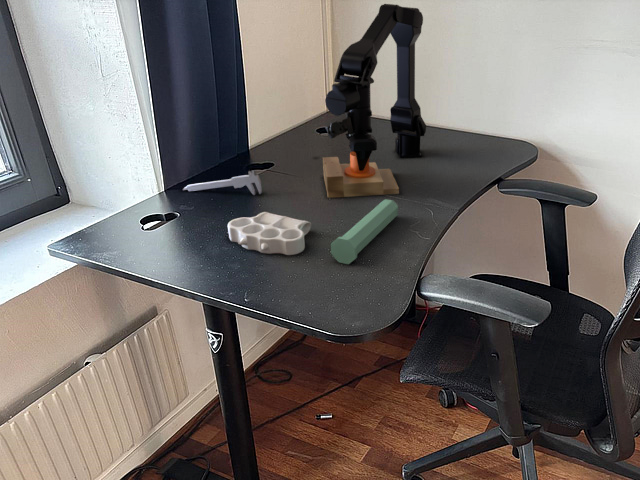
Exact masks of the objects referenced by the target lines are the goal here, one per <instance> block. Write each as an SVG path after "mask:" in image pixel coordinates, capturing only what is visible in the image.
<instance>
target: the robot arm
mask: <svg viewBox="0 0 640 480" xmlns="http://www.w3.org/2000/svg"><path fill="white" fill-rule="evenodd" d="M423 23H424V15H423V12H421V10H420V9H419V8H418V7H408V6H401V5H400V4H393V3H383V4H381V5H380V6H379V8H378V13H377V14H376V16H375V18H374V19H373V20H372V22H371V23H370V25H369V26H368V28H367V29H366V31H365V32H364V34H363V36H361V38H360V40H358V41H356V42H353V43H351V44H350V45H348V47H347V48H346V49H345V50H344V51H343V53H342V55H341V57H340V59H339V63H338V67H337V69H336V73H335V76H334V79H333V81H334V83H333V84H332V85H331V90H329V91H328V92H327V94H326V96H325V98H324V102H325V107H326V109H327V110H328V112H329V113H330V114H332V115H333V116H334V117H332V118H330V119H328V120H325V121H324V122H323V124H324V128H325V130H326V132H327V135H328V137H329V139H335V138H336V137H337V136H339V135H342V134H344V133H345V138H346V139H347V140H348V141H349V142H348V143H349V144H348V146H349V149H350V152H352V151H353V152H355V153H356V158H357V163H358V167H359V170H360V171H363V170H364V168H365V166H366V164H367V161H368V159H369V160H370V157H371V155H372V153H373V152H374V151H377V150H378V142H377V140H376V138H375V136H373V134H372V133H373V127H372V118H371V117H373V112H372V109H371V108H372V106H371V104H372V103H371V84H374V83H375V79H374V78H373V77H372V76H373V74H374V72H375V69H376V68H377V65H378V54H379V52H380V50H381V49H382V47H383V46H384V44H385V42H386V41H387V39H388V38H389V36H390V35H391V37H392V39H393V41H394V42H395V44H396V45H395V46H396V101H395V102H394V103H393V106H391V107H390V118H389V119H390V120H389V121H390V126H391V131H392V134H396V135H397V136H396V137H395V145H394V148H395V150H394V151H395V153H396V154H397V156H398V157H399V158H420V157H421V158H422V154H421V137H425V134H426V132H427V124H426V122H425V121H424V118H423V117H422V111H421V106H420V104H419V103H418V101H417V100H416V43H417V41H418V39H419V37H420V35H421V34H422V26H423Z"/></svg>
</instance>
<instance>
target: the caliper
mask: <svg viewBox="0 0 640 480" xmlns="http://www.w3.org/2000/svg"><path fill="white" fill-rule="evenodd" d="M247 173H248V174H244V175H238V176H232V177H231V178H229V179H221V180H220V179H219V180H213V181H206V182H197V183H191V184H187V185H186V186H184V187H183V188H182V191H188V192H195V191H203V190H209V189H210V190H211V189H217V188H225V187H226V188H227V187H233V188H234V189H238V188H239V189H241V188H243V187H244V186H246V187H247V188H248V190H249V192H250V193H251V194H252V195H253V196H255V195H256V194H257V193H256V189H257V191H258V195H261V194H262V193H263V184H262V179H261V177H260V176H259V173H256V170H255V169H254V170H253V171H251V170H248V171H247ZM254 184H255V187H256V189H255V187H254Z"/></svg>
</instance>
